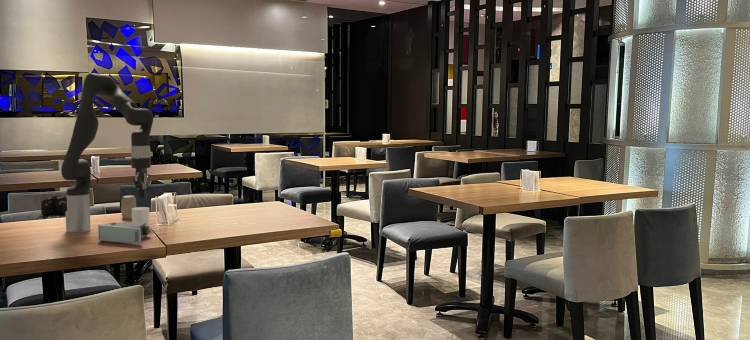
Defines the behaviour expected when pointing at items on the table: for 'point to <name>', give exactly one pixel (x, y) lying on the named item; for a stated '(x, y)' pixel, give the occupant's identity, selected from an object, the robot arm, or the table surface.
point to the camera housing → (135, 225)
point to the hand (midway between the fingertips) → (142, 197)
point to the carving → (128, 206)
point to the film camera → (54, 205)
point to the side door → (119, 234)
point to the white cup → (140, 215)
